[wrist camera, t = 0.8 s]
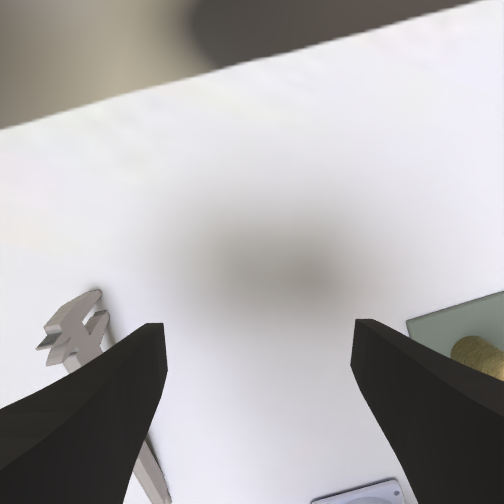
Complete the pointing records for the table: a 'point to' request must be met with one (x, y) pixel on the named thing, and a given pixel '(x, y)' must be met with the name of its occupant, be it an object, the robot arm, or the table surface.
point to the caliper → (83, 351)
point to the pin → (479, 356)
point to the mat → (461, 324)
